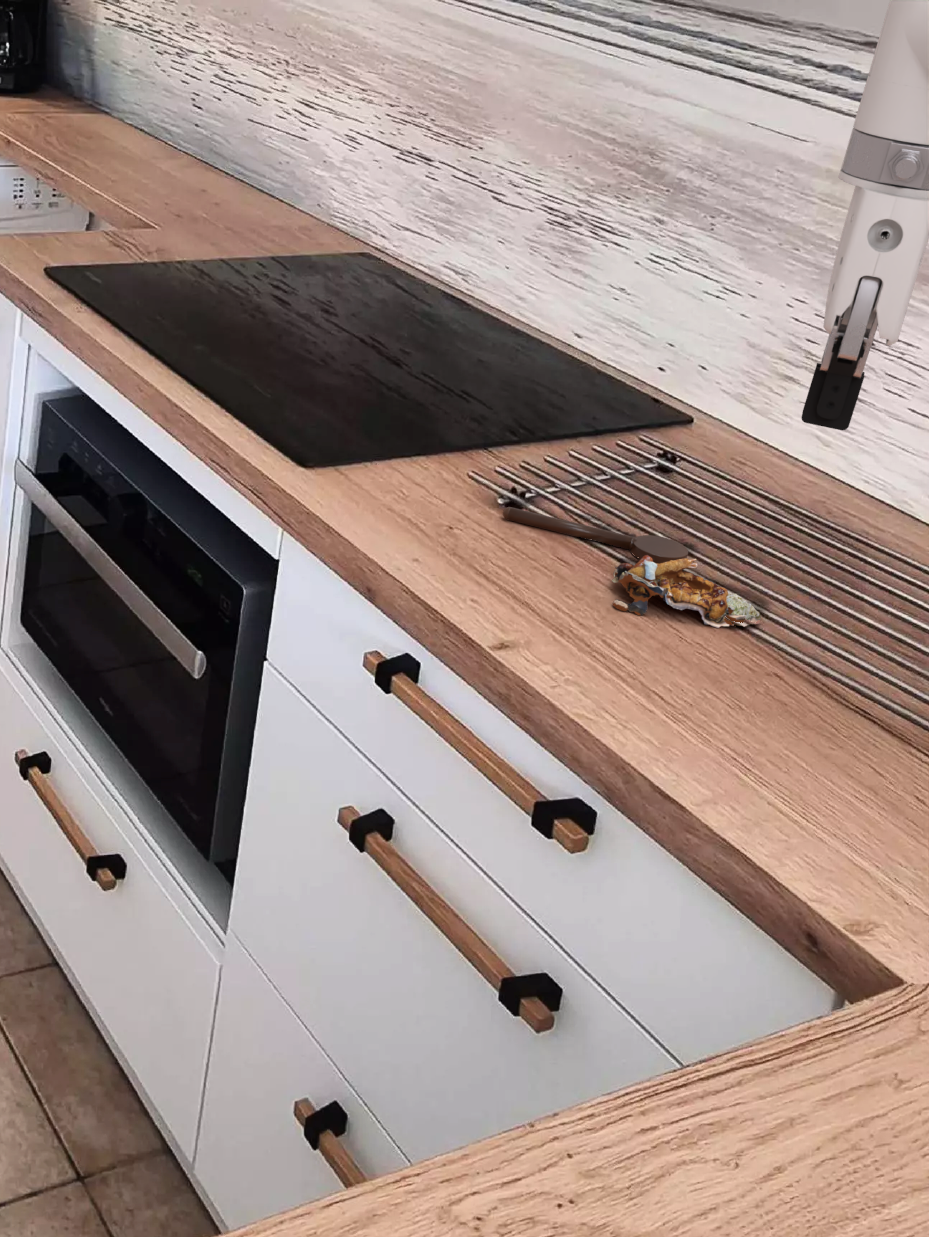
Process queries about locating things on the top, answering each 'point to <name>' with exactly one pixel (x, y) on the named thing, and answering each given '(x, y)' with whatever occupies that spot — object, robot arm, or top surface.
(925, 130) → the robot arm
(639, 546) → the walnut spoon
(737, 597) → the pastry
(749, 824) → the top surface
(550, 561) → the top surface
